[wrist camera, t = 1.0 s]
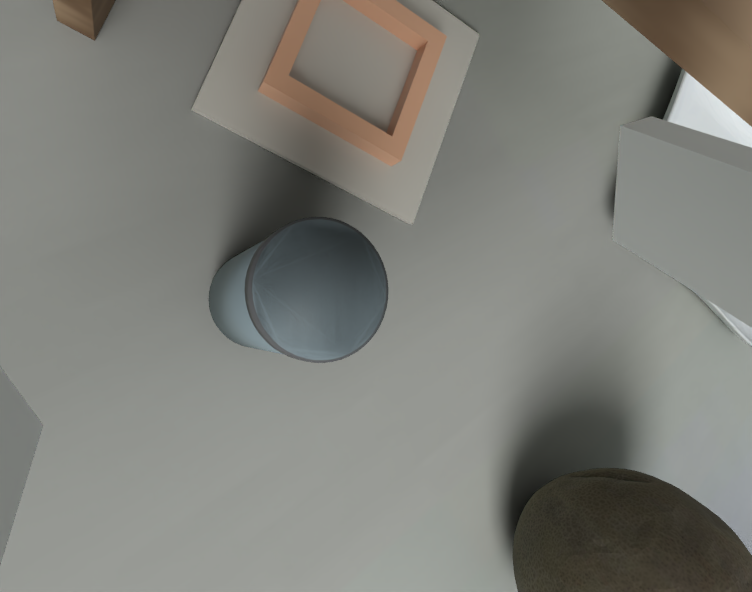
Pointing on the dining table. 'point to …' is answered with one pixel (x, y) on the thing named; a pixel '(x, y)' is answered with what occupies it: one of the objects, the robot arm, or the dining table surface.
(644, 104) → the dining table surface
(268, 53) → the seat collar
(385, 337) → the dining table surface
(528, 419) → the dining table surface
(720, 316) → the salad plate
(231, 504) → the dining table surface
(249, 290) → the canister
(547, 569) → the cantaloupe
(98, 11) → the shelf
